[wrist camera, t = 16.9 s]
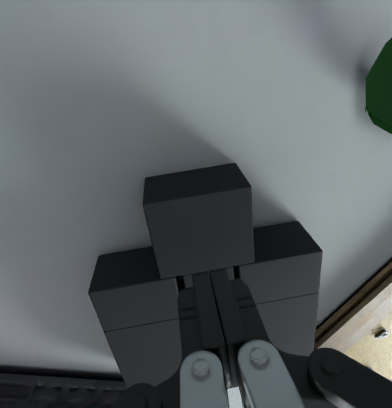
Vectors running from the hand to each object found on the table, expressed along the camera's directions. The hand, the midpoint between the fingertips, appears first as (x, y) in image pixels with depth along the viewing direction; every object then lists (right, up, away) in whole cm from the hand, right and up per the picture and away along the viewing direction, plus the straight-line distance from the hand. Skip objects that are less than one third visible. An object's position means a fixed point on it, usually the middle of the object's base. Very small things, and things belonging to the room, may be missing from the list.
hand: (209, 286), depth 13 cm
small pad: (0, +2, +7) cm, 7 cm away
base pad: (0, -4, +10) cm, 11 cm away
